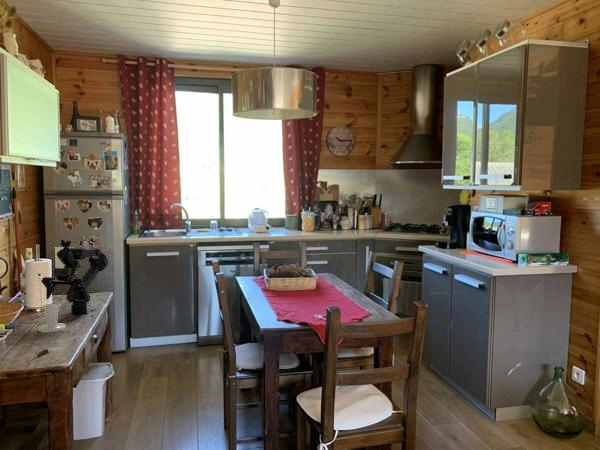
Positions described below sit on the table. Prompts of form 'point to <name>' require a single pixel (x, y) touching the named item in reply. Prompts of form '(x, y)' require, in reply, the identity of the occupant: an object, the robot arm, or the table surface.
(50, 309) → the smoothie
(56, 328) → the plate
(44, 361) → the table surface
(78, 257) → the robot arm
